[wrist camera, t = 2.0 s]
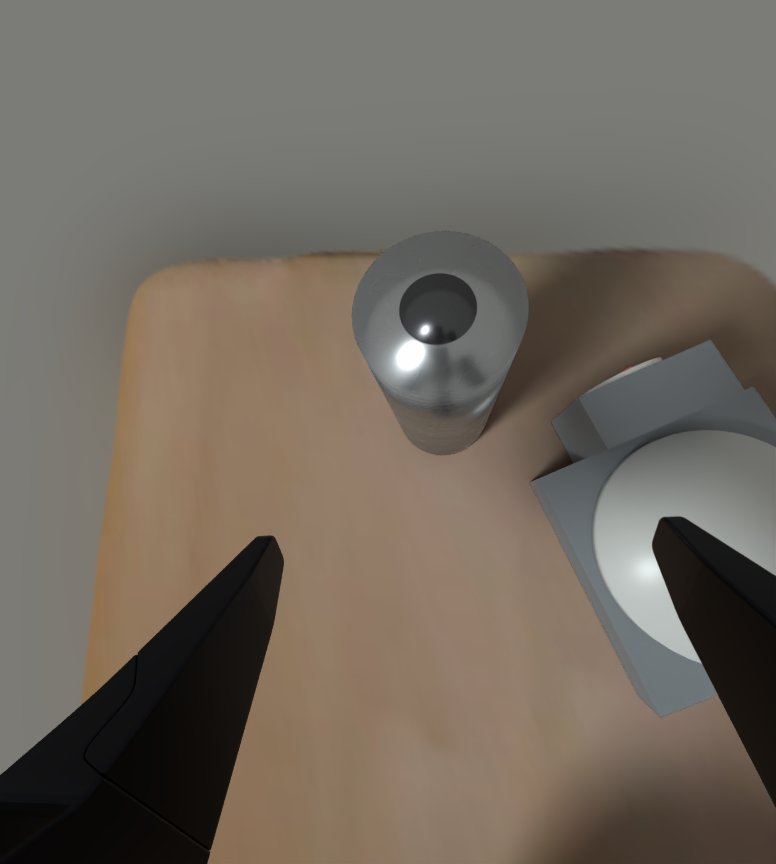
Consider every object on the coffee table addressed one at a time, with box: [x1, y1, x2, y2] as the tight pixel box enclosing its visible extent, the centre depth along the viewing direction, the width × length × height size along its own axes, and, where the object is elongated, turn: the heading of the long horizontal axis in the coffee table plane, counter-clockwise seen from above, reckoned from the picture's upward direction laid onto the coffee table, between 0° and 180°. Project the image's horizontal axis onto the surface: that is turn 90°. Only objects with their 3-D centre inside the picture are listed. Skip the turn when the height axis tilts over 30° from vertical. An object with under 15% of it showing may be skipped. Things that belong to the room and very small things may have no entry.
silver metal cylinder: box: [352, 231, 529, 455], centre depth 17 cm, size 5×5×12 cm
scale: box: [530, 340, 776, 718], centre depth 18 cm, size 11×14×5 cm
